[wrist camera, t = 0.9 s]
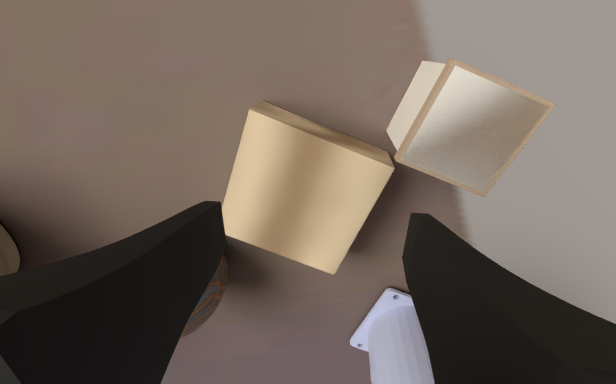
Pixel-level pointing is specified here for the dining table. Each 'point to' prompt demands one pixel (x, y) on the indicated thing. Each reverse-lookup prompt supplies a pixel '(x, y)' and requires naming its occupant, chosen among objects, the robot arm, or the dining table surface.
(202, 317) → the vase
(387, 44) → the dining table surface
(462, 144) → the framed cream cube
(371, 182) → the block
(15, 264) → the planter bowl
